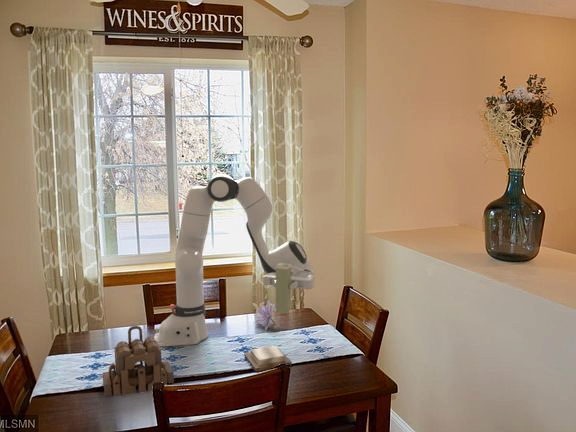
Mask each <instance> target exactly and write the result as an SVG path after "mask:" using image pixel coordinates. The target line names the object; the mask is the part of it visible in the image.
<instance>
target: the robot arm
mask: <svg viewBox="0 0 576 432" xmlns="http://www.w3.org/2000/svg"><path fill="white" fill-rule="evenodd" d="M234 199H235V200H236V201H237V202H239V205H240V206H241V207H242V209H243V210H244V212H245V214H246V217H247V218H246V219H247V222H246V224H245V225H246V226H245V227H246V230H247V232H248V235H249V237H250V240H251V243H252V244H253V247H254V249H255V251H256V253H257V256H258V259H259V261H260V264H261V267H262V269H263V271H264V273H265V274H264V275H263V276H262V284H263V285H264V286H272V287H273V288H276V265H277V264H279V263H286V264H291V283H289V284H288V289H291V290H294V289H295V290H296V289H302V290H313V289H314V288H315V279H316V278H315V271H313V266H312V263H311V262H310V260H308V258H307V254H306V251H305V249H304V247H302V245H301V244H300V243H298V242H296V241H294V240H288V241H286V242H285V243H283V244H282V245H280V246H277V248H275V249H273V250H271V251H270V250H269V248H268V246H267V244H266V242H265V239H264V237H263V233H262V231H263V227H264V226H265V224H266V223H267V222H268V220H269V219H270V217H271V216H272V214H273V204H272V202H271V200H270V198H269V196H268V194H266V192H265V190H263V188H262V187H261V186H260V184H259V183H258V182H257V181H256V180H255V178H252V177H251V176H245V177H242V178H240V179H239V180H234V178H233V177H232V176H230V175H229V174H225V173H218V174H216V175H213V176H212V177H211V178H210V180H208V183H207V185H205V186H198V185H197V186H193V187H191V188H190V189H189V191H188V193H187V195H186V198H185V203H184V206H183V211H182V218H181V222H180V223H181V224H180V230H179V233H178V238H177V239H178V240H177V243H176V249H175V255H174V256H175V257H174V258H175V260H174V261H175V262H174V263H175V266H174V267H175V268H174V269H175V288H176V289H175V290H176V292H175V293H176V304H174V303H172V304H170V305H169V308H170V310H171V314H170V315H169V316H167V318H166V319H164V320H163V321H162V322H161V323H160V326H159V331H158V332H156V333H155V334H154V336H153V338H154V339H155V341H157V343H158V345H159V347H160V348H161V347H174V346H187V345H188V346H189V345H197V344H199V343H200V342H201V341H203V340H205V339H207V338H208V337H209V331H208V328H207V323H206V305H205V301H204V299H205V298H204V260H203V259H204V258H203V251H204V247H205V241H206V238H207V234H208V230H209V224H210V219H211V212H212V208H213V205H214V204H215V202H218V203H224V202H227V201H230V200H234Z"/></svg>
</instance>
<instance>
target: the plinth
mask: <svg viewBox="0 0 576 432" xmlns="http://www.w3.org/2000/svg"><path fill="white" fill-rule="evenodd" d="M244 356H245V357H244ZM243 357H244V358H245V359H247V360H248V361H247V360H246V361H247V362H248V364H249V363H250V364H249V365H250V367H251V366H252V367H251V368H252V369H253V371H254V372H261V371H267V370H271V368H273V369H275V368H274V367H276V366H278V365H279V364H283V363H284V364H287V365H290V366H292V365H293V362H292V360H290V359H289V357H287V355H286V354H285V353H284V352H283V351H282V350H281V349H280V348H279V347H277V346H276V345H272V346H265V347H259V348H251V349H250V352H246V353H244V354H243Z"/></svg>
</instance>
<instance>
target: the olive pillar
mask: <svg viewBox="0 0 576 432" xmlns="http://www.w3.org/2000/svg"><path fill="white" fill-rule="evenodd" d="M289 283H291V264H286V263H279V264H277V265H276V287H275V303H276V306H275V313H279V314H288V313H289V312H290V311H291V310H292V308H291V306H292V305H291V304H292V302H291V301H292V298H291V297H292V295H291V292H292V291H291V290H292V289H288V284H289Z"/></svg>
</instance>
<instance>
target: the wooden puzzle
mask: <svg viewBox="0 0 576 432" xmlns="http://www.w3.org/2000/svg"><path fill="white" fill-rule="evenodd" d="M132 330H138V333H139V338H135V339H134V340H132ZM127 341H128V342H127ZM127 341H124V340H122V341H121V340H120V341H119V342H117V344H116V346H114V347H113V349H114V362H112V363H111V364H110V365H109V367H108V371H105V372H102V386H103V385H104V386H103V389H104V397H106V398H107V397H112V396H113V397H116V396H121V395H122V396H126V395H131V394H136V393H137V390H136V388H137V387H138V392H139V394H142V393H146V392H147V391H153V390H152V386H153V384H154V382H163V383H164V384H167V383H169V384H167V385H170V383H172V384H174V383H175V380H174V379H175V378H174V375H175V374H174V371H173V368H172V366H171V363H170V362H169V361H168V360H167V361H166V360H165V361H162V359H163V358H162V349H161V346H159V345H158V343H157V341H155V339H154V336H153V337H152V336H148V337H146V338H145V339H144V340H143V329H142V327H141V326H140V325H132V326H131V327H130V328H128V330H127ZM146 384H147V385H146ZM111 385H112V387H111Z"/></svg>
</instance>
